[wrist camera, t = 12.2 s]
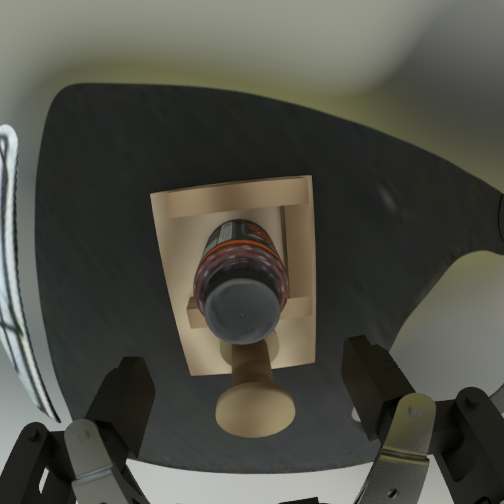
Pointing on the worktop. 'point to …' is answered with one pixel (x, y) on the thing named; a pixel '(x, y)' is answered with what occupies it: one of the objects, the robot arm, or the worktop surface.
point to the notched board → (284, 239)
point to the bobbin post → (253, 391)
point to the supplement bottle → (240, 283)
